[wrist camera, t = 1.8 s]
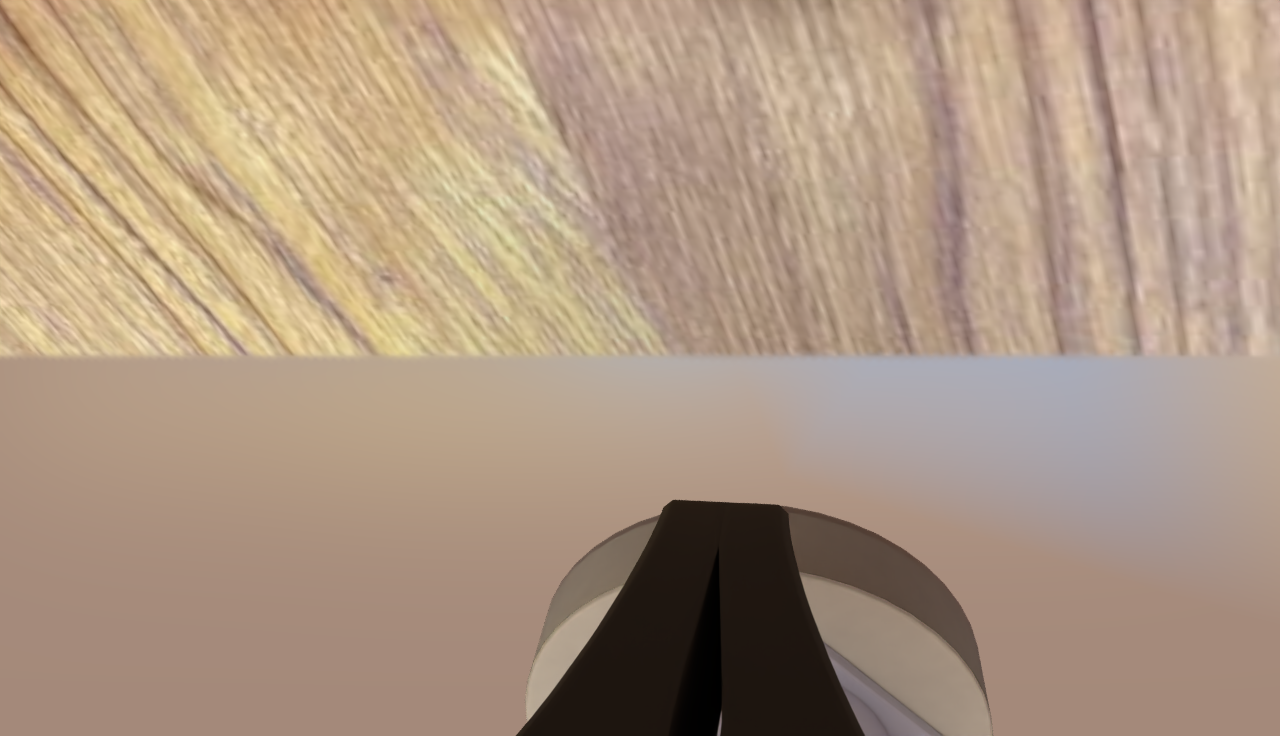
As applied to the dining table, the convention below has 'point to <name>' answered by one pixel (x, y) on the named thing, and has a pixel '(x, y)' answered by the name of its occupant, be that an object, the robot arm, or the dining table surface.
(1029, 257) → the dining table surface
